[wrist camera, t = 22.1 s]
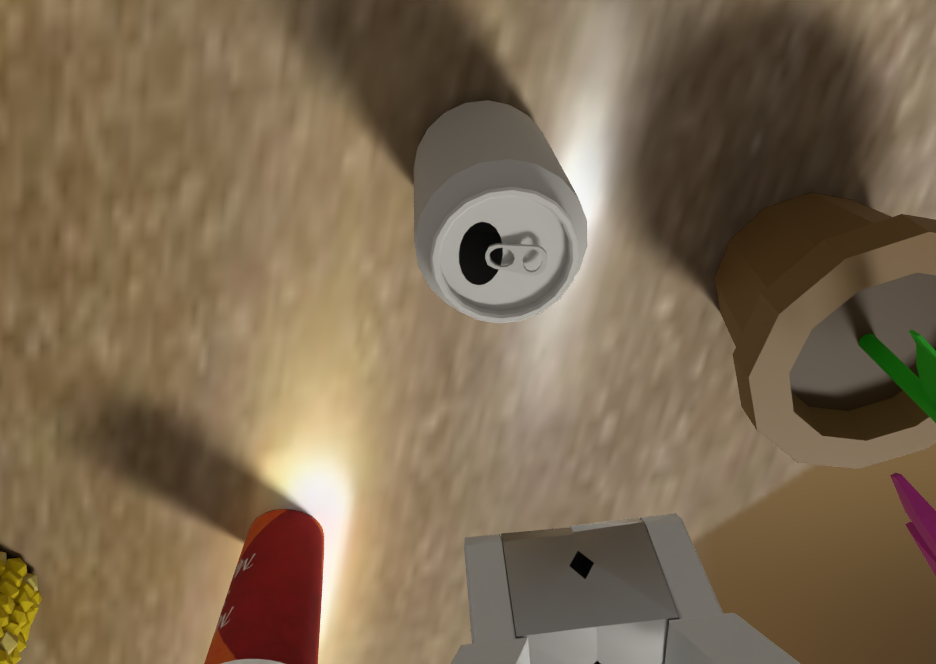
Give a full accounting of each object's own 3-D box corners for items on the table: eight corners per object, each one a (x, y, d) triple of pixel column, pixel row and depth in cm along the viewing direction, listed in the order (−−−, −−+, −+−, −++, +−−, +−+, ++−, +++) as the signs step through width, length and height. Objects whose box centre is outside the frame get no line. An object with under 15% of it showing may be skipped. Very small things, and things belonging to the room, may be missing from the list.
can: (414, 93, 37) (416, 170, 27) (556, 98, 37) (610, 176, 27) (412, 226, 41) (413, 338, 31) (540, 229, 41) (583, 339, 31)
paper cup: (220, 506, 51) (163, 691, 39) (325, 491, 51) (299, 672, 39) (252, 576, 55) (209, 762, 44) (348, 562, 55) (332, 745, 43)
